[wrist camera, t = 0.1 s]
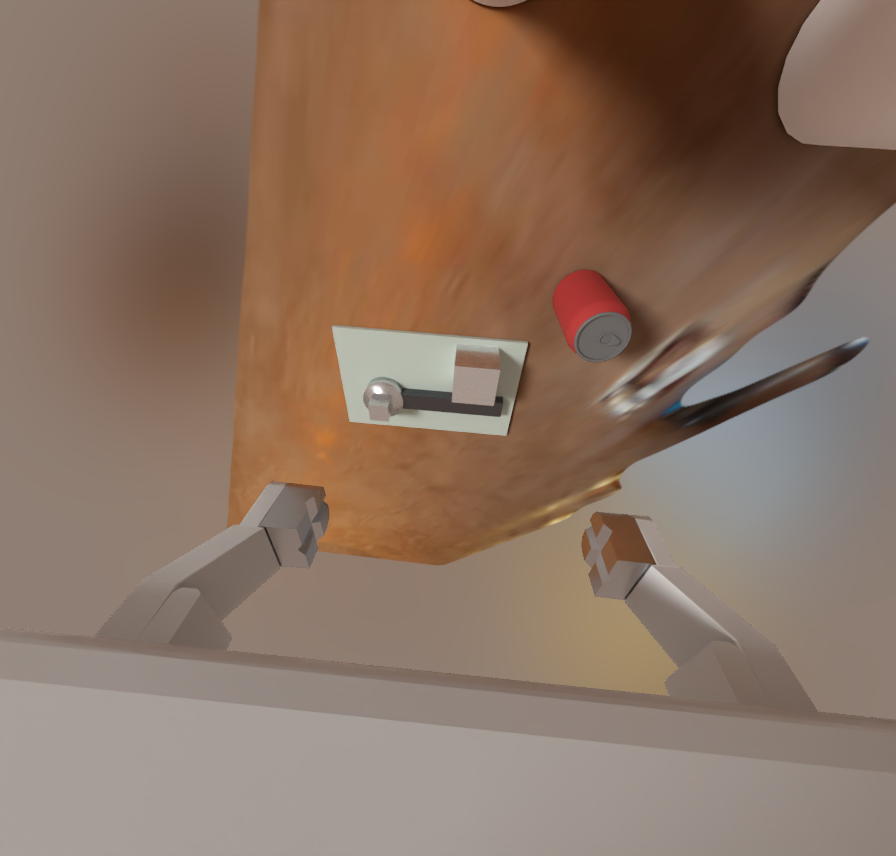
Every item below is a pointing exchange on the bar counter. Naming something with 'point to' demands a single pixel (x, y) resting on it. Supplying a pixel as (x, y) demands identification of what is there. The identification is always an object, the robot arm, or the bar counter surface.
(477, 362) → the grey box
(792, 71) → the white plastic canister
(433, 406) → the lever
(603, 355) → the beer can
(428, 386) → the mat
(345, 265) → the bar counter surface
